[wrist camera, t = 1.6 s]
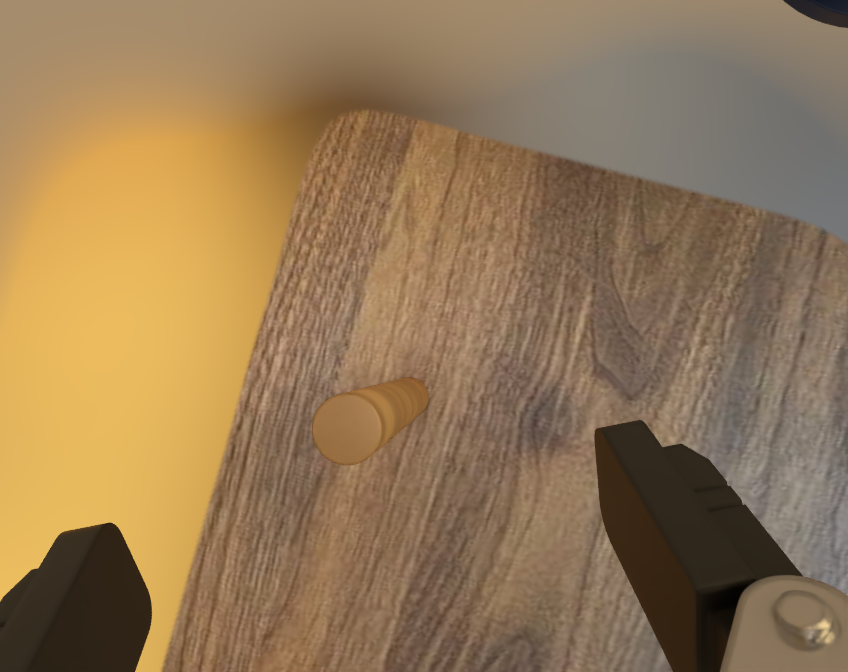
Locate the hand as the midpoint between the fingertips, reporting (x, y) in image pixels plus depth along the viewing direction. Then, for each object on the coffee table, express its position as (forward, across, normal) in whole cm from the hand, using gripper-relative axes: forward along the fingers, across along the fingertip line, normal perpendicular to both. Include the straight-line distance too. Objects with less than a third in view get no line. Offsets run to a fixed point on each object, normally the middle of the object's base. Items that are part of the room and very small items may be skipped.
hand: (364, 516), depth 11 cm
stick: (+20, 0, +10) cm, 23 cm away
